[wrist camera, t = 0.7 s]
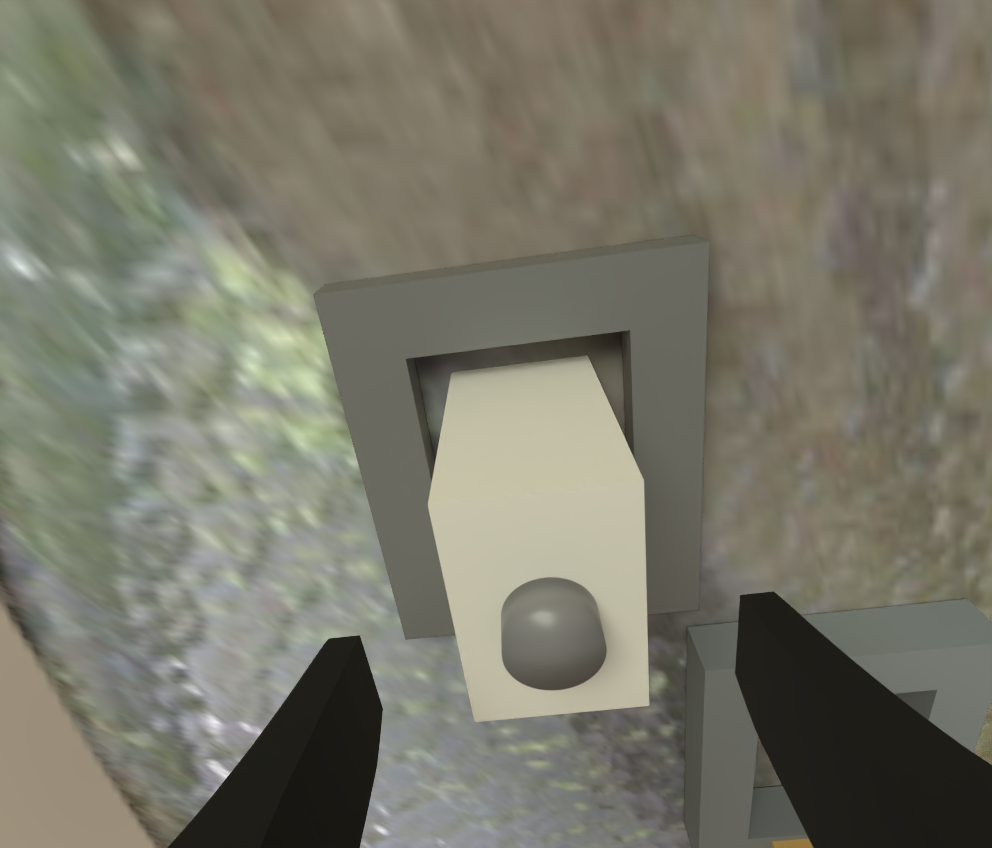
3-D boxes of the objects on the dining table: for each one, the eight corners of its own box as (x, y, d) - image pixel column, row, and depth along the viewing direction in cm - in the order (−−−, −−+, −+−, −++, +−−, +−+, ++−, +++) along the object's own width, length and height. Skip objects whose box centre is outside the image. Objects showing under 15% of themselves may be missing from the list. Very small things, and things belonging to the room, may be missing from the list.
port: (967, 598, 21) (1026, 656, 19) (908, 802, 26) (949, 867, 24) (687, 627, 21) (711, 686, 19) (683, 821, 27) (702, 886, 24)
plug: (587, 354, 17) (657, 511, 10) (598, 523, 19) (660, 746, 12) (451, 372, 17) (421, 537, 10) (480, 536, 20) (473, 764, 12)
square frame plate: (694, 234, 15) (709, 242, 14) (688, 585, 21) (699, 609, 19) (325, 284, 16) (313, 294, 15) (409, 613, 21) (405, 639, 20)
